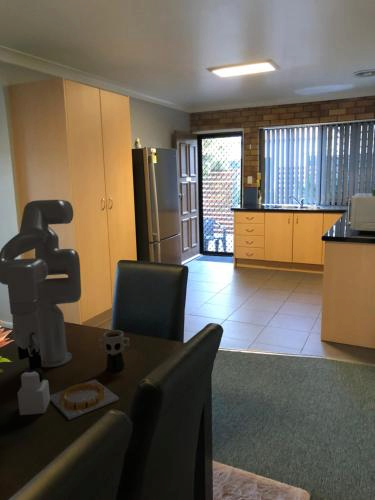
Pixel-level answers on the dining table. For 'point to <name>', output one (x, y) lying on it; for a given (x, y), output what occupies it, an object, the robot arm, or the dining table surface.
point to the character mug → (114, 348)
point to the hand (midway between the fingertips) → (30, 363)
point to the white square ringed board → (82, 398)
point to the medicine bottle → (33, 393)
